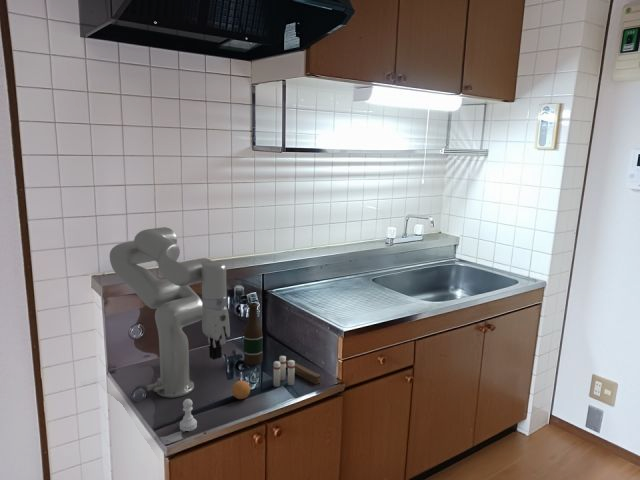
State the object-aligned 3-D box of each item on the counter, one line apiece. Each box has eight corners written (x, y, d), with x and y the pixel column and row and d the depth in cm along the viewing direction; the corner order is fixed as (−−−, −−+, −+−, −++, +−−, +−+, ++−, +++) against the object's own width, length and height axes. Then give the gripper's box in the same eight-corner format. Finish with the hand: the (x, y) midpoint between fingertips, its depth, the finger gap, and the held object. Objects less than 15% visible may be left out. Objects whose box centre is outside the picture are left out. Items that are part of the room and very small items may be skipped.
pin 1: (281, 381, 178) (282, 359, 177) (277, 378, 180) (277, 356, 179) (287, 379, 180) (287, 357, 179) (283, 376, 182) (283, 355, 180)
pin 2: (290, 386, 175) (290, 363, 173) (286, 383, 177) (286, 361, 175) (295, 383, 176) (296, 361, 175) (291, 381, 178) (291, 359, 177)
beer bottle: (259, 366, 190) (259, 307, 186) (240, 364, 192) (239, 305, 188) (265, 359, 198) (265, 301, 194) (247, 357, 199) (247, 300, 195)
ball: (238, 404, 161) (238, 387, 160) (228, 397, 166) (228, 381, 165) (253, 398, 165) (253, 381, 164) (243, 392, 170) (243, 375, 169)
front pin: (276, 387, 174) (276, 364, 172) (271, 384, 175) (271, 362, 174) (281, 385, 175) (281, 362, 174) (277, 382, 177) (277, 360, 176)
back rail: (316, 384, 176) (316, 376, 176) (285, 368, 189) (285, 361, 189) (320, 383, 177) (320, 375, 177) (289, 366, 191) (289, 359, 190)
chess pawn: (190, 421, 151) (189, 393, 149) (200, 427, 147) (199, 399, 146) (176, 427, 147) (175, 399, 145) (186, 433, 144) (185, 405, 142)
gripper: (238, 305, 150) (238, 362, 153) (212, 294, 161) (213, 347, 164) (216, 310, 145) (217, 368, 148) (191, 298, 156) (193, 353, 159)
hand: (215, 357), depth 156 cm, fingers closed
